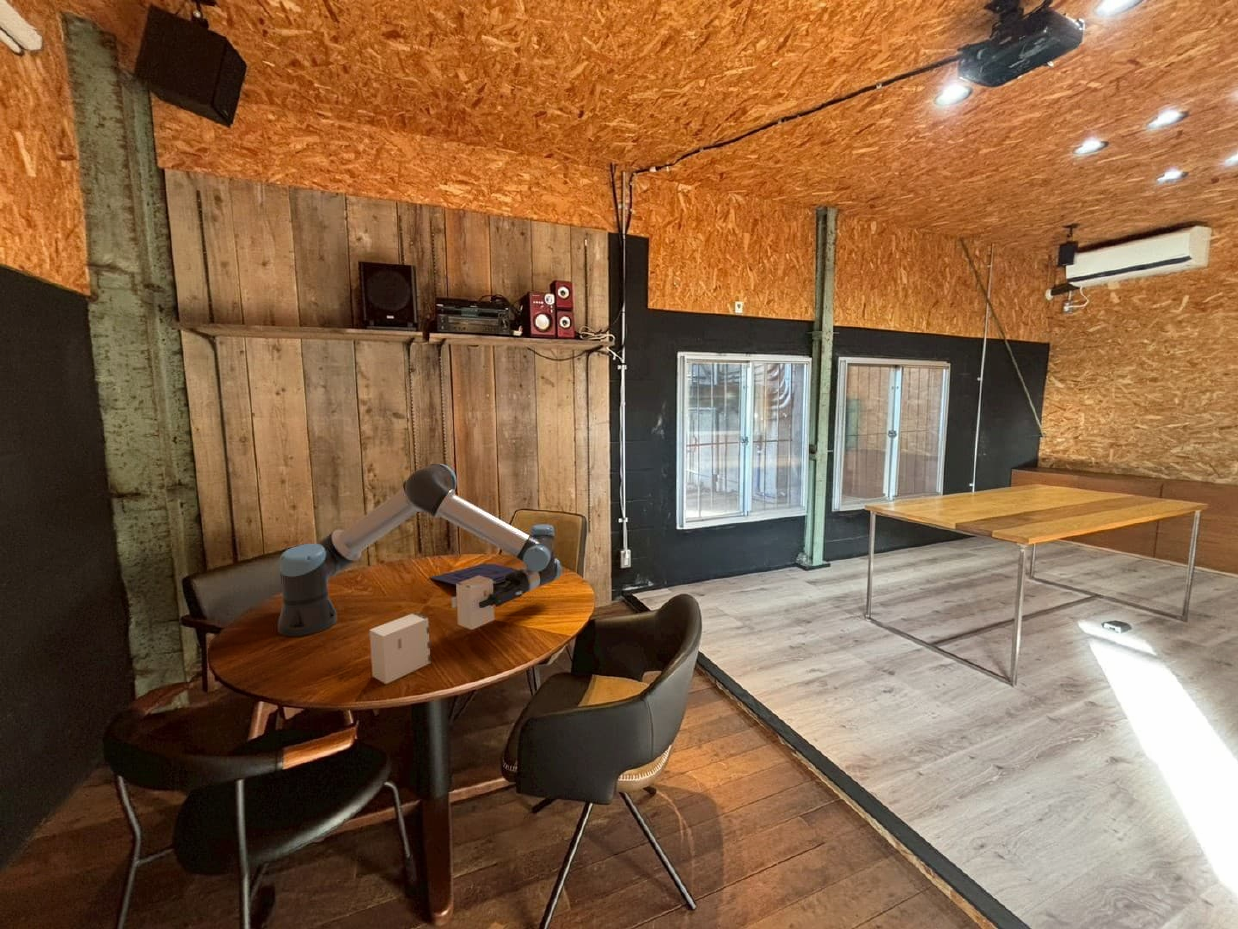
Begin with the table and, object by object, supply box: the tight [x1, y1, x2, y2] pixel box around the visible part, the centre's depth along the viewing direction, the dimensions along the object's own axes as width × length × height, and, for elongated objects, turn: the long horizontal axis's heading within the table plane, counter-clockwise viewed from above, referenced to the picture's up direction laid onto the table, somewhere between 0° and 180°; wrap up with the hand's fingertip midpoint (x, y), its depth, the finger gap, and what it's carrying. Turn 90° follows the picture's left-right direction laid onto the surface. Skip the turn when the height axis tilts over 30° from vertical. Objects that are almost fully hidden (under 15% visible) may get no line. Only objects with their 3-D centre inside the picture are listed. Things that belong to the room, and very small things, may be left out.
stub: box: [455, 576, 495, 630], centre depth 146 cm, size 6×8×12 cm
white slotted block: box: [369, 612, 431, 685], centre depth 128 cm, size 6×12×12 cm, turn 144°
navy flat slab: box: [429, 562, 518, 586], centre depth 192 cm, size 24×30×4 cm
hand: (460, 605), depth 142 cm, fingers closed on stub, 6 cm apart
